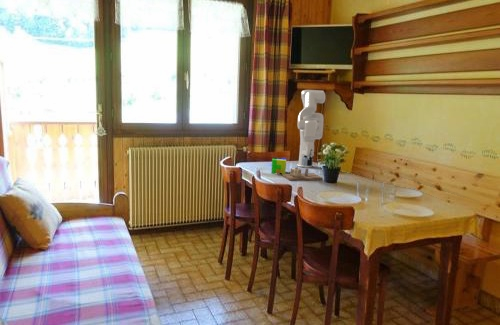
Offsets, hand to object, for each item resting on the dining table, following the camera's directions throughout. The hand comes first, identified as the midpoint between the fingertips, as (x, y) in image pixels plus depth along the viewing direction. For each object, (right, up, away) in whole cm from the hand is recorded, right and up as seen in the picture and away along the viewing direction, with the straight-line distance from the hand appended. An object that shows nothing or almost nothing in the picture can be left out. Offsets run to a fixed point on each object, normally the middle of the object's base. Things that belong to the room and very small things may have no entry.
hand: (307, 164), depth 270 cm
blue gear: (0, -1, 0) cm, 1 cm away
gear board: (-3, -9, +1) cm, 10 cm away
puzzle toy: (-19, -6, +15) cm, 25 cm away
